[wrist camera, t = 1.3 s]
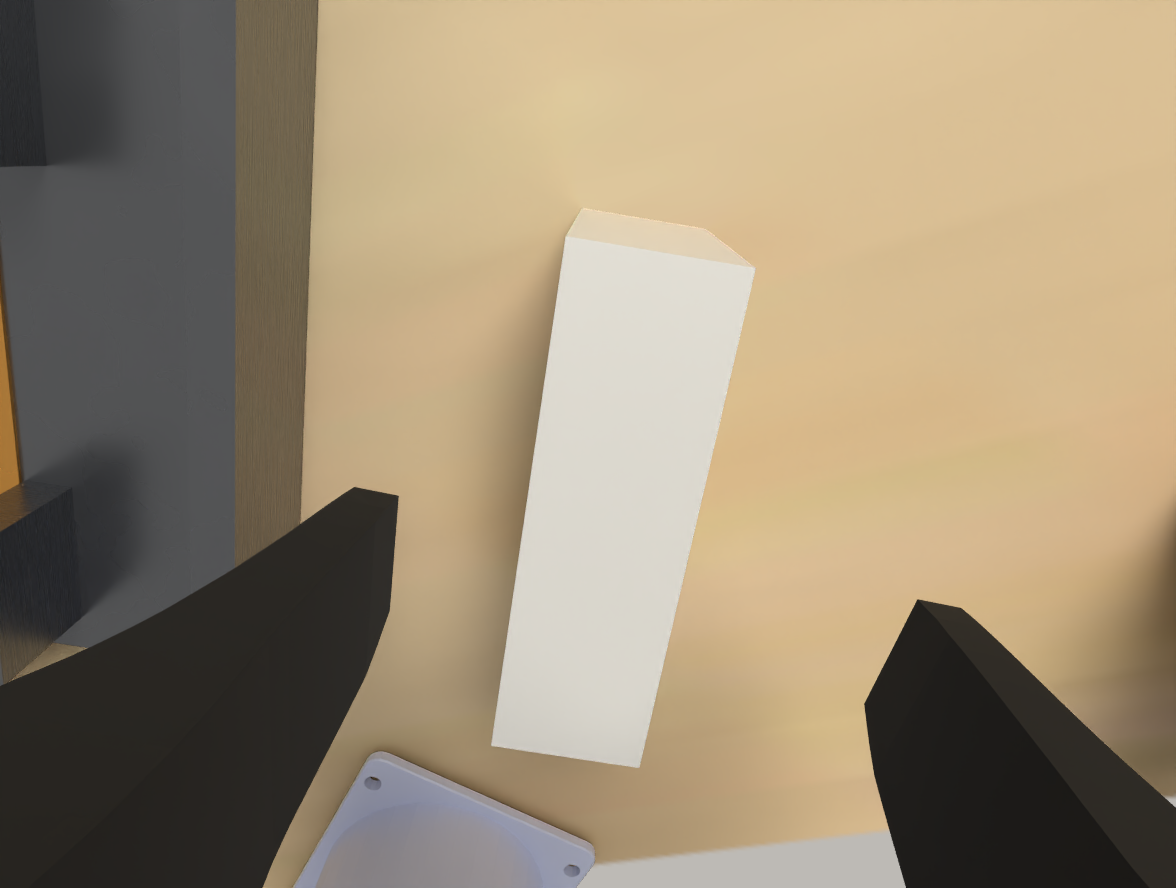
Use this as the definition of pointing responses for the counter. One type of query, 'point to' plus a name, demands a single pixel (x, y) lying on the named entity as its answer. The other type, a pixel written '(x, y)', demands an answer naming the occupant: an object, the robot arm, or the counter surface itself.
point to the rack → (147, 303)
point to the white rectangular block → (616, 480)
